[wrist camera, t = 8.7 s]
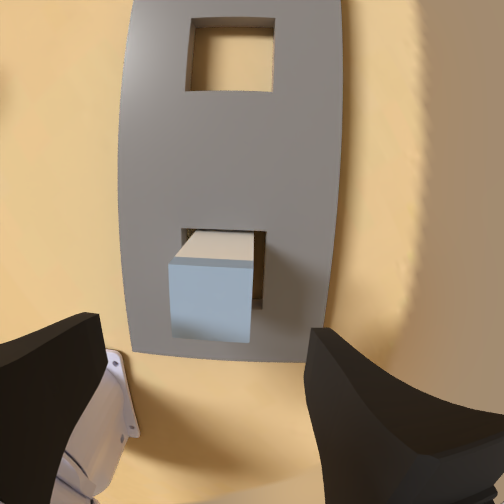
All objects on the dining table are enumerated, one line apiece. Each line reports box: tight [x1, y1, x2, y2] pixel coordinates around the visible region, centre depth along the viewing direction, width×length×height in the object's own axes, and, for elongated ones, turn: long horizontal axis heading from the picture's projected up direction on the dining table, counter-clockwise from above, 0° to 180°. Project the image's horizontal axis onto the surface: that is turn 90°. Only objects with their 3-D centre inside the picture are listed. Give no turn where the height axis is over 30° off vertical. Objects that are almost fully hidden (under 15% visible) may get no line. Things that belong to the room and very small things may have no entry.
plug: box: [168, 229, 254, 343], centre depth 16 cm, size 3×3×7 cm
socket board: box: [118, 0, 343, 363], centre depth 17 cm, size 24×12×2 cm, turn 178°
